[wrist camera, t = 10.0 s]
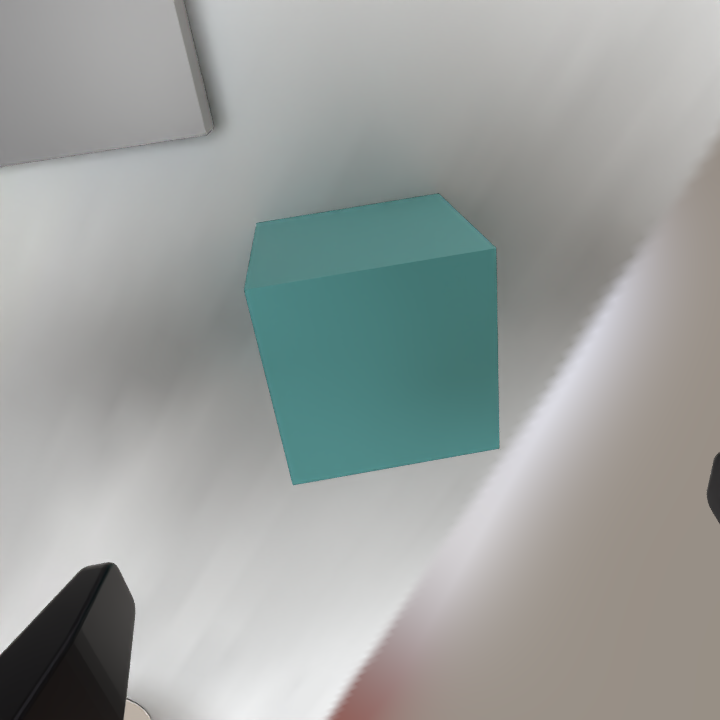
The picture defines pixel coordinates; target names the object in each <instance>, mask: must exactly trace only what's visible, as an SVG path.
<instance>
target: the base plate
mask: <svg viewBox="0 0 720 720" xmlns="http://www.w3.org/2000/svg"><path fill="white" fill-rule="evenodd" d="M213 128H214V124H213V120H212V116H211V112H210V107H209V103H208V99H207V95H206V91H205V87H204V82H203V78H202V74H201V70H200V66H199V62H198V57H197V53H196V49H195V45H194V41H193V37H192V32H191V28H190V24H189V20H188V16H187V12H186V7H185V3H184V0H0V167H4V166H10V165H17V164H23V163H29V162H36V161H42V160H49V159H55V158H62V157H68V156H75V155H81V154H87V153H94V152H100V151H107V150H113V149H120V148H126V147H132V146H139V145H145V144H152V143H158V142H165V141H171V140H177V139H184V138H190V137H197V136H203V135H207V134H208V133H209V132H210V131H211V130H212V129H213Z"/></svg>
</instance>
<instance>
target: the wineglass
mask: <svg viewBox="0 0 720 720" xmlns="http://www.w3.org/2000/svg"><path fill="white" fill-rule="evenodd" d="M124 720H151V719H150V716H149V715H148V713H147V712H146V711H145V710H144V709H143V708H142V707H141V706H139V705H138V704H136V703H134V702H132V701H130V700H127V699H126V706H125V714H124Z"/></svg>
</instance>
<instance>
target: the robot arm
mask: <svg viewBox="0 0 720 720" xmlns="http://www.w3.org/2000/svg"><path fill="white" fill-rule="evenodd" d="M707 499H708V503H709V506H710V508H711V510H712V512H713V514H714V515H715V517H716V518H717V520H718V522H719V523H720V452H719V453H718V454H717V455H716V456H715V458H714V462H713V466H712V471H711V475H710V480H709V484H708V489H707ZM134 622H135V603H134V600H133V597H132V595H131V593H130V591H129V589H128V587H127V585H126V583H125V581H124V578H123V576H122V574H121V572H120V570H119V568H118V567H117V565H115V564H114V563H110V562H107V563H102V564H96V565H91V566H87V567H84V568H83V569H82V570H80V571H79V572H78V573H77V574H76V575H75V576H74V577H73V579H72V580H71V581H70V582H69V583H68V584H67V585H66V586H65V587H64V588H63V589H62V590H61V591H60V592H59V593H58V594H57V595H56V597H55V598H54V599H53V600H52V601H51V602H50V603H49V604H48V605H47V606H46V607H45V608H44V609H43V610H42V611H41V612H40V613H39V615H38V616H37V617H36V618H35V619H34V620H33V621H32V622H31V623H30V624H29V625H28V626H27V627H26V628H25V629H24V630H23V632H22V633H21V634H20V635H19V636H18V637H17V638H16V639H15V640H14V641H13V642H12V643H11V644H10V645H9V646H8V647H7V648H6V650H5V651H4V652H3V653H2V654H1V655H0V720H124V714H125V706H126V697H127V688H128V678H129V669H130V659H131V650H132V641H133V631H134Z"/></svg>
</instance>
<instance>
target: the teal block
mask: <svg viewBox="0 0 720 720" xmlns="http://www.w3.org/2000/svg"><path fill="white" fill-rule="evenodd" d="M244 292H245V296H246V300H247V304H248V308H249V312H250V316H251V320H252V324H253V328H254V332H255V336H256V340H257V344H258V348H259V352H260V356H261V360H262V364H263V368H264V372H265V376H266V380H267V384H268V388H269V392H270V396H271V400H272V404H273V408H274V412H275V416H276V420H277V424H278V428H279V432H280V436H281V440H282V444H283V448H284V452H285V456H286V460H287V464H288V468H289V472H290V476H291V480H292V484H293V485H297V484H303V483H308V482H314V481H319V480H325V479H331V478H336V477H342V476H348V475H353V474H359V473H365V472H370V471H376V470H381V469H387V468H393V467H398V466H404V465H410V464H415V463H421V462H426V461H432V460H438V459H443V458H449V457H455V456H460V455H466V454H472V453H477V452H483V451H488V450H494V449H499V390H498V327H497V263H496V247H495V246H493V245H492V244H491V243H490V242H489V241H488V240H487V239H486V238H485V237H484V236H483V235H482V234H481V233H480V232H479V231H478V230H477V229H476V228H474V227H473V226H472V225H471V224H470V223H469V222H468V221H467V220H466V219H465V218H464V217H463V216H462V215H461V214H460V213H459V212H458V211H457V210H456V209H454V208H453V207H452V206H451V205H450V204H449V203H448V202H447V201H446V200H445V199H444V198H443V197H442V196H441V195H440V194H439V193H438V194H432V195H426V196H419V197H413V198H407V199H401V200H395V201H389V202H382V203H376V204H370V205H364V206H358V207H352V208H345V209H339V210H333V211H327V212H321V213H315V214H308V215H302V216H296V217H290V218H284V219H278V220H271V221H265V222H259V223H256V228H255V234H254V239H253V245H252V250H251V255H250V261H249V266H248V271H247V277H246V282H245V287H244Z"/></svg>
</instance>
